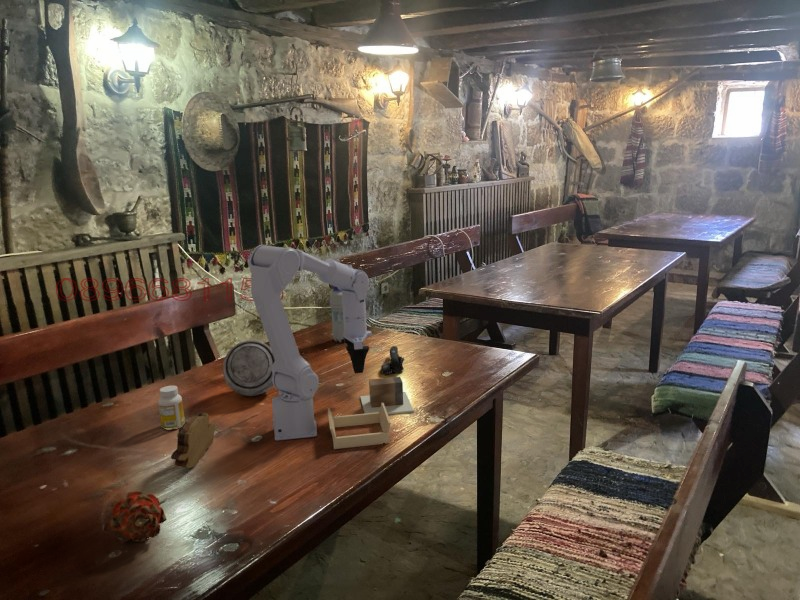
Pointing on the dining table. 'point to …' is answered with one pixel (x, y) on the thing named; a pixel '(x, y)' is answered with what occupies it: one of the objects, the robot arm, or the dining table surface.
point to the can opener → (393, 362)
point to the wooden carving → (193, 441)
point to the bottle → (337, 314)
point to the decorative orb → (249, 368)
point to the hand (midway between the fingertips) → (357, 367)
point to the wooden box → (360, 420)
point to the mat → (390, 409)
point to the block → (386, 391)
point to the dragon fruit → (136, 517)
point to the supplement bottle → (170, 407)
